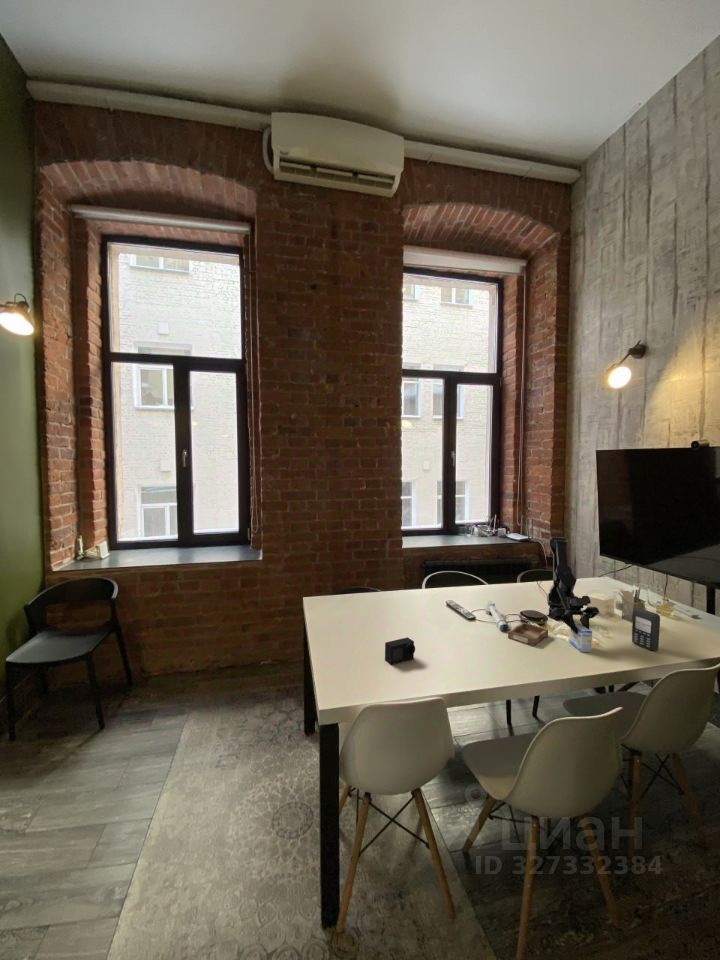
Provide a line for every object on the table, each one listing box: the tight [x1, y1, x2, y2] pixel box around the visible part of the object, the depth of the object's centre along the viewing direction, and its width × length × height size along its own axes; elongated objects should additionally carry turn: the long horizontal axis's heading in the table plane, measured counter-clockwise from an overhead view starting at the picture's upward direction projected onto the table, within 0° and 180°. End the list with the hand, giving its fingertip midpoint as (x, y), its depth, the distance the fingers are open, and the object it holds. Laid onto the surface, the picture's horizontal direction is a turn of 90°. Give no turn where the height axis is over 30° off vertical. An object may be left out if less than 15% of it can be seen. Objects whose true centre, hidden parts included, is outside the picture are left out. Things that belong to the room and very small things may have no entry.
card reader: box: [631, 607, 661, 652], centre depth 166 cm, size 9×4×15 cm, turn 23°
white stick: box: [484, 600, 510, 633], centre depth 192 cm, size 5×7×25 cm
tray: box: [507, 622, 549, 648], centre depth 174 cm, size 15×11×3 cm
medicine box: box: [569, 622, 593, 653], centre depth 164 cm, size 8×4×9 cm, turn 5°
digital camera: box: [384, 636, 416, 666], centre depth 151 cm, size 10×5×7 cm, turn 119°
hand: (583, 633), depth 163 cm, fingers closed on medicine box, 4 cm apart
